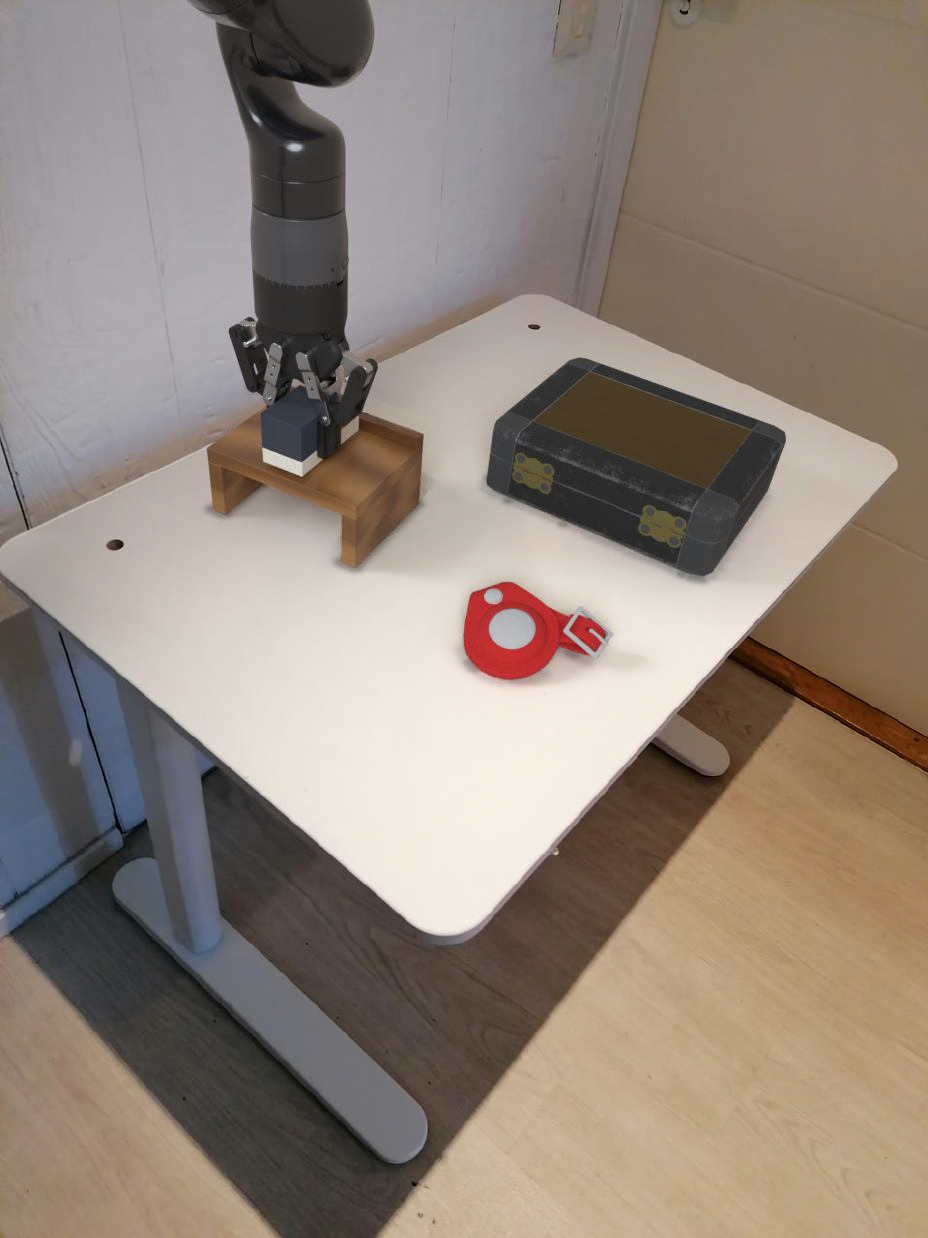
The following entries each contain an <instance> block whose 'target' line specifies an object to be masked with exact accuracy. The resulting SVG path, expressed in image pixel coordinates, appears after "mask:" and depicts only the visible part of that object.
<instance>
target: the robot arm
mask: <svg viewBox="0 0 928 1238" xmlns="http://www.w3.org/2000/svg"><path fill="white" fill-rule="evenodd" d="M186 1H187V2H188V3H189V4H190V5H191V6H192V7H193V8H195V9H196V10H198V11H199V12H200V13H202V14H203V15H204V16H206V17H207V18H209V19H211V20H213V21H214V25H215V31H216V39H217V43H218V48H219V51H220V55H221V58H222V62H223V65H224V70H225V73H226V75H227V78H228V79H227V80H228V83H229V85H230V88H231V91H232V95H233V98H234V101H235V104H236V108H237V112H238V116H239V119H240V122H241V125H242V128H243V131H244V134H245V137H246V141H247V145H248V153H249V154H248V155H249V156H248V159H249V176H250V193H251V194H250V195H251V216H250V228H249V229H250V232H249V233H250V235H249V236H250V251H251V252H250V253H251V268H252V269H251V270H252V271H251V273H252V287H253V306H254V314H255V317H256V319H257V321H256V320H255V318H253V317H252V316H247V317H245V318H243V319H242V320H240V321H239V322H236V323H235V324H233V325H232V326H230V327H229V328H228V334H229V339H230V342H231V344H232V347H233V348H232V349H233V351H234V354H235V357H236V360H237V364H238V367H239V369H240V372H241V375H242V378H243V379H242V380H243V382H244V385H245V387H246V390H247V391H248V392H250V393H252V394H254V393H257V394H259V395H260V396H262V400H263V402H264V404H265V405H266V406H267V408H268V407H270V406H271V405H272V404H274V403H275V402H277V401H278V400H279V399H281V398H282V397H284V396H285V395H286V394H288V393H289V392H290V388H291V386H292V384H293V380H297V381H298V382H300V383H301V384H303V385H304V387H306V391H307V394H308V398H309V400H310V401H313V402H314V405H315V409H316V413H317V417H318V420H319V422H318V423H317V457H319V458H321V459H324V460H326V459H327V458H328V457H330V456H331V455H332V454H333V453H335V452H336V451H337V450H338V449H339V448H340V446H341V426H346V425H347V424H348V423H349V422H350V421H351V420H352V419H354V418H355V417H356V416H358V415H359V414H361V413H362V412H363V411H364V408H365V405H366V402H367V399H368V396H369V393H370V391H371V389H372V386H373V384H374V380H375V378H376V375H377V372H378V369H379V364H378V362H377V361H376V360H375V359H374V358H372V357H371V358H370V357H369V358H367V359H365V360H364V359H362V358H361V357H359V356H358V355H356V354H355V353H353V352H352V351H351V350H350V349H351V348H350V344H349V341H348V339H347V336H346V332H345V329H346V324H347V321H348V313H349V312H348V309H349V307H348V305H349V304H348V303H349V290H348V289H349V261H350V259H349V258H350V257H349V229H348V222H347V221H348V220H347V212H346V184H347V183H346V182H347V181H346V179H347V177H346V175H347V174H346V173H347V171H346V166H347V164H346V163H347V162H346V153H347V152H346V140H345V135H344V133H343V131H342V129H341V128H340V127H339V126H338V125H337V124H336V122H334V121H332V120H331V119H330V118H328V117H326V116H325V115H323V114H321V113H319V112H318V111H316V110H314V109H313V108H311V107H310V106H308V105H307V104H306V103H305V102H304V101H303V99H302V98H301V96H300V94H299V92H298V90H297V87H296V84H295V83H299V84H303V85H307V86H310V87H311V86H312V87H316V88H321V89H338V88H342V87H344V86H347V85H349V84H350V83H352V82H353V81H354V80H356V79H357V78H358V77H359V76H360V75H361V74H362V72H363V71H364V70H365V68H366V66H367V65H368V63H369V61H370V58H371V55H372V52H373V49H374V47H373V46H374V42H375V23H374V22H375V21H374V15H373V11H372V7H371V4H370V0H186ZM267 355H268V356H267ZM340 366H342V368H343V370H344V372H343V379H342V377H341V373H340V370H339V369H340ZM343 382H344V383H345V384H346V385H345V388H344V390H343V394H342V392H341V391H342V390H341V389H342V387H343ZM341 394H342V395H343V396H341ZM328 402H329V403H328ZM329 405H330V406H329Z"/></svg>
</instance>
